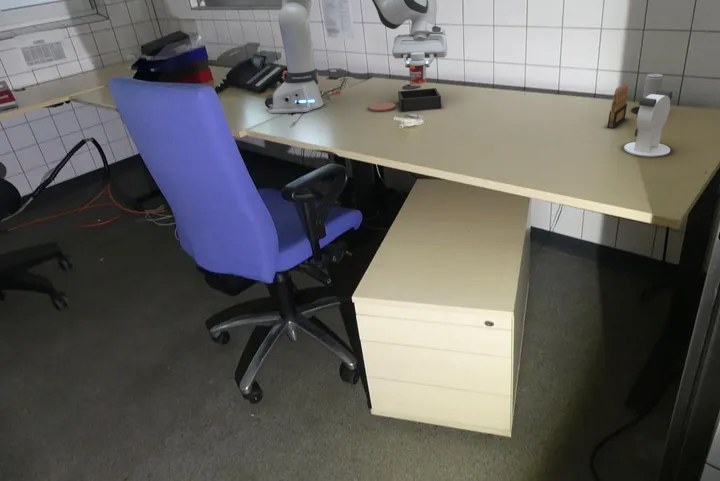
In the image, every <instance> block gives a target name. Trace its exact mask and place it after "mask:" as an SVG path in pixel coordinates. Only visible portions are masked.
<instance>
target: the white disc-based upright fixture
mask: <svg viewBox="0 0 720 481" xmlns="http://www.w3.org/2000/svg"><path fill="white" fill-rule="evenodd" d="M672 98H673V91H671V90H670V91H669V90H662V89H661V90H657V92H656V94H650V95H648V96H647V97H646V98H643V96H642V97H640V99H639V103H638V105H639V108H638V110H637V113H636V128H635V131H634V137H635V141H632V142H629V143H626V144H625V145H624V146H623V149H624V151H625V152H627V153H629V154H631V155H634V156H639V157H649V158H650V157H651V158H654V157H657V158H658V157H663V156H667V155H668V154H670V152H671V148H670V146H668V145H666V144H663V143H661V142H660V141H661V136H662V133H663V128H664V126H665V125H666V122H667V120H668V118H669V114H670V110H671V100H672Z"/></svg>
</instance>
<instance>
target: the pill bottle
mask: <svg viewBox="0 0 720 481" xmlns="http://www.w3.org/2000/svg"><path fill="white" fill-rule="evenodd" d="M409 61H410V62H409V68H408V69H409V85H410V86H412V87H423V86H425V85H427V67H426V66H425V63H426V61H427V60H426V58H425V53H424V52H413V53H411V58H410V60H409Z"/></svg>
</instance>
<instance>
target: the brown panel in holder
mask: <svg viewBox="0 0 720 481" xmlns="http://www.w3.org/2000/svg"><path fill="white" fill-rule="evenodd" d="M628 90H629V83H628V81H625V82H624V83H622V84H621V85H619V86H618V87H617V88H616V89H615V90H614V93H613V97H612V102H611V106H610V110H609V113H608V121H607V129H615V128H616V127H617V126H619V124H621V123H622V122H623V121H625V120H626V115H627V114H626V113H627V107H628V102H627V101H628Z"/></svg>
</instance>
